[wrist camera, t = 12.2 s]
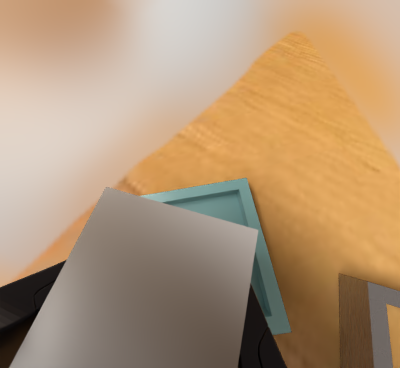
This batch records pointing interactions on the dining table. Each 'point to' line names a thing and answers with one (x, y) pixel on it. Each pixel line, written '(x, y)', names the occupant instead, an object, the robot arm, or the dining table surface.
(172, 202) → the tray
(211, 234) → the walnut peg
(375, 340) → the collar
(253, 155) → the dining table surface
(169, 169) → the dining table surface
